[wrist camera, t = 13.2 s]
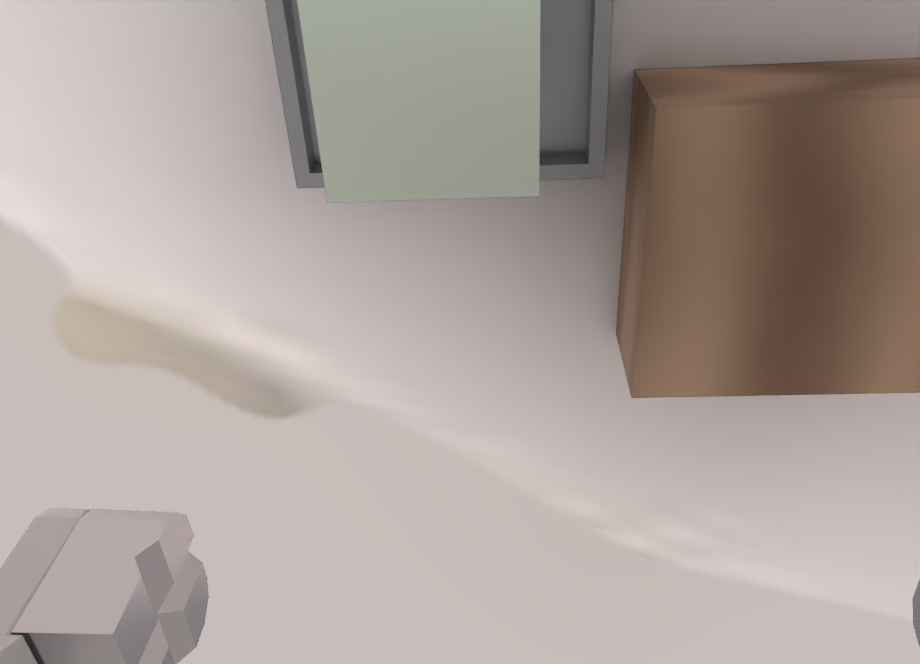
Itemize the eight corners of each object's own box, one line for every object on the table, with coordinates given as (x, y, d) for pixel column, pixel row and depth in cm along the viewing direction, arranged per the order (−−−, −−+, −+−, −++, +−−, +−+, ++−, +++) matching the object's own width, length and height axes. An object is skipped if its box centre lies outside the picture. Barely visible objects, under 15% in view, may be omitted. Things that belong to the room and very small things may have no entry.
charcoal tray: (615, -193, 22) (623, -194, 20) (598, 161, 27) (603, 178, 26) (250, -172, 22) (236, -171, 21) (305, 171, 27) (296, 188, 26)
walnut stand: (959, 56, 25) (1033, 94, 21) (882, 328, 30) (931, 392, 27) (634, 69, 25) (656, 108, 22) (615, 334, 31) (631, 397, 27)
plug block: (525, -82, 23) (540, -38, 16) (526, 95, 25) (539, 196, 19) (350, -73, 23) (293, -26, 16) (369, 101, 26) (327, 203, 19)
